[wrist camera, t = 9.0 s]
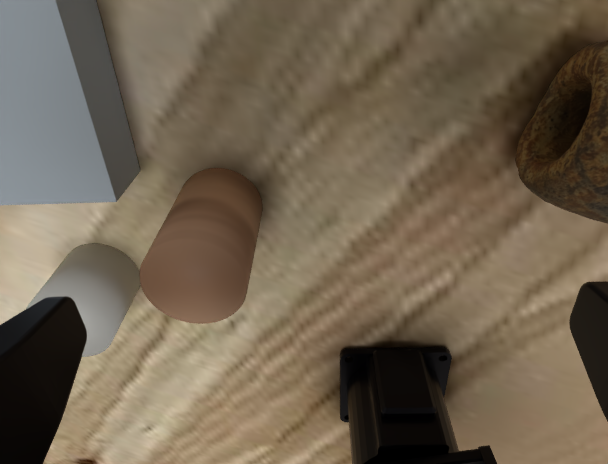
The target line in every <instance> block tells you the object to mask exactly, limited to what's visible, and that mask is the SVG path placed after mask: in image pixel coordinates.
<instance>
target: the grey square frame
mask: <svg viewBox="0 0 608 464" xmlns="http://www.w3.org/2000/svg"><path fill="white" fill-rule="evenodd" d="M139 172H140V167H139V163H138V160H137V156H136V152H135V148H134V144H133V140H132V136H131V133H130V129H129V125H128V121H127V117H126V113H125V109H124V106H123V102H122V98H121V94H120V90H119V86H118V82H117V79H116V75H115V71H114V67H113V63H112V59H111V56H110V52H109V48H108V44H107V40H106V36H105V32H104V29H103V25H102V21H101V17H100V13H99V9H98V5H97V2H96V0H0V205H23V204H58V203H92V202H117V201H118V199H119V198H120V197H121V195H122V194H123V193H124V191H125V190H126V189H127V188H128V186H129V185H130V184H131V182H132V181H133V180H134V178H135V177H136V176H137V175H138V173H139Z"/></svg>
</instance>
